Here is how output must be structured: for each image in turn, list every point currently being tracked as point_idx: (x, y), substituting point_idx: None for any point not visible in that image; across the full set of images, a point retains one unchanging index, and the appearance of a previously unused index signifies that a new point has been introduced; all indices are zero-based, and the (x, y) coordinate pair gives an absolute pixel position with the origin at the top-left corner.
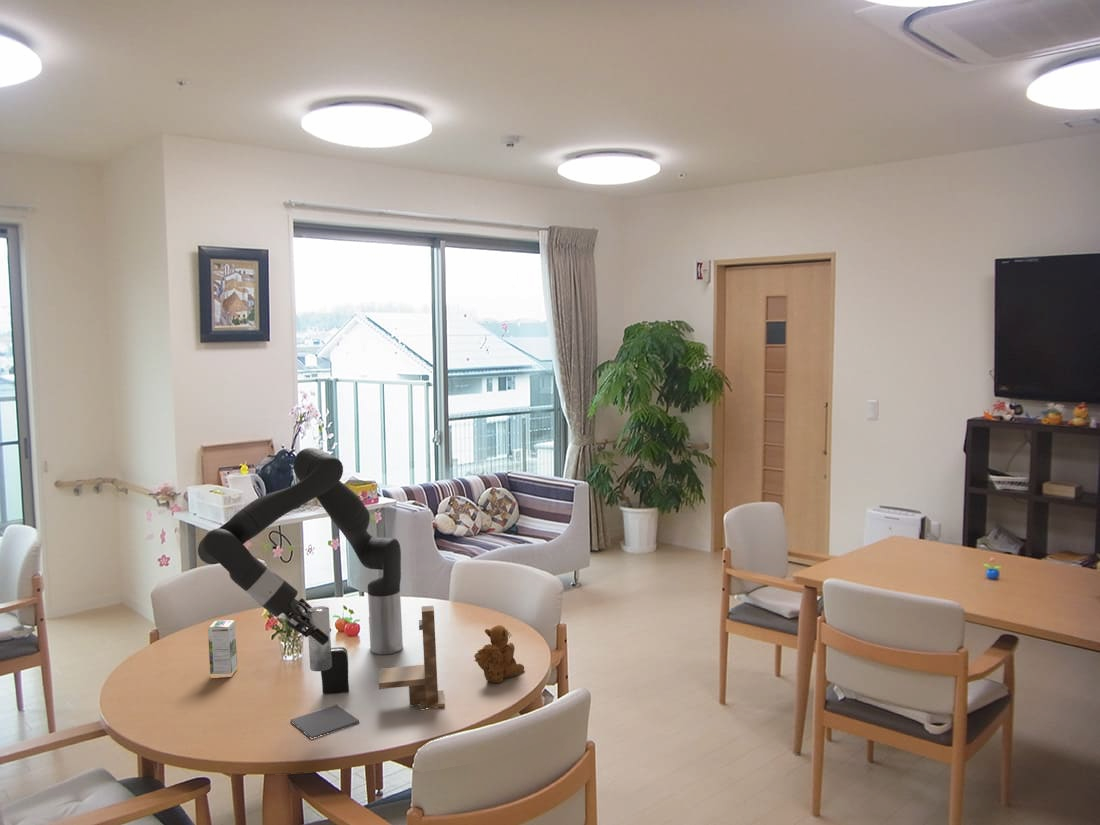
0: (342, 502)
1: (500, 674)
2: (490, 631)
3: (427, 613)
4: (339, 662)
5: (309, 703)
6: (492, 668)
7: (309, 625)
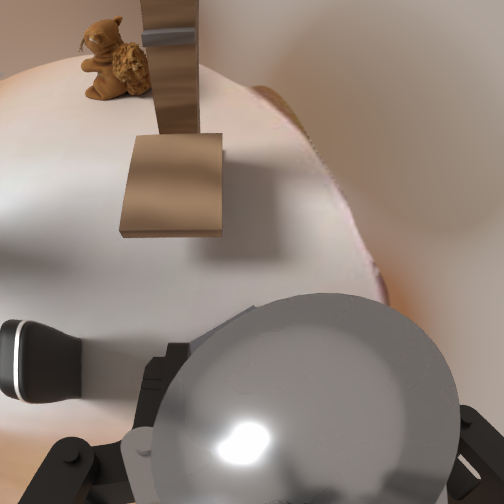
0: None
1: None
2: (100, 34)
3: None
4: (44, 347)
5: (120, 428)
6: None
7: (481, 438)
